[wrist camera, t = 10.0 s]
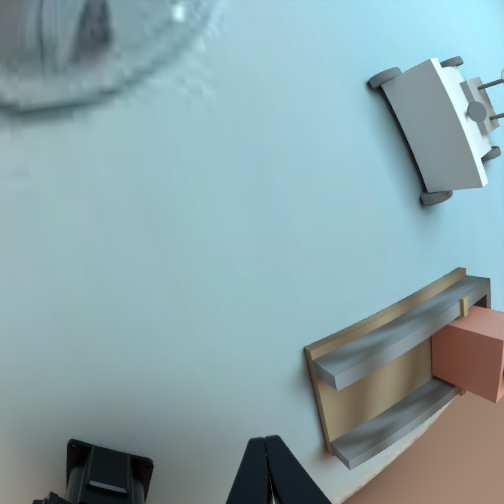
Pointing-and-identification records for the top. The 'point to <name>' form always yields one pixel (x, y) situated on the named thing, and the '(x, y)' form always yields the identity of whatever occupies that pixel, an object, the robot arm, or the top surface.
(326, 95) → the top surface
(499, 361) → the slider
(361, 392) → the track
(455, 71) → the toy car
